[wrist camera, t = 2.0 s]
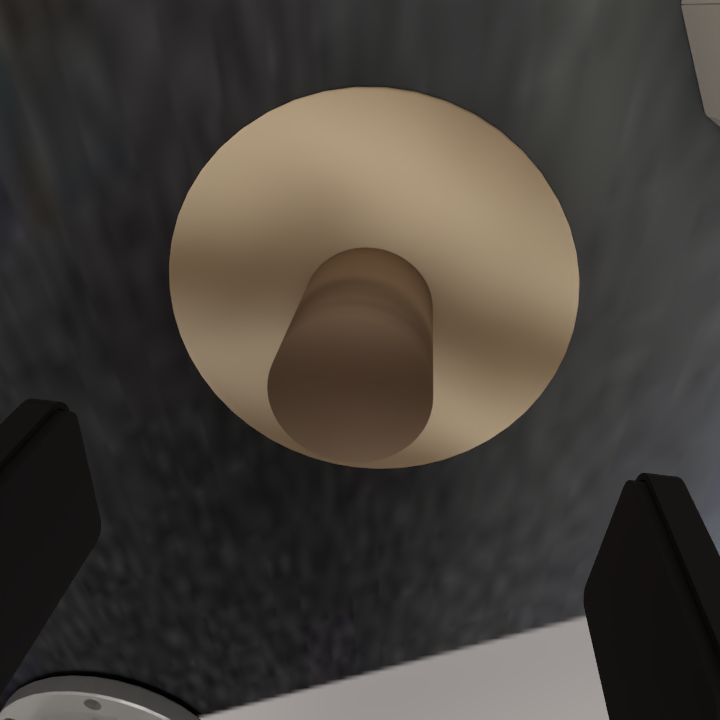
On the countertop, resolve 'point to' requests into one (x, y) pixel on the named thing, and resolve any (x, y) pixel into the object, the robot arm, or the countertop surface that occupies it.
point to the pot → (705, 50)
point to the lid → (374, 277)
